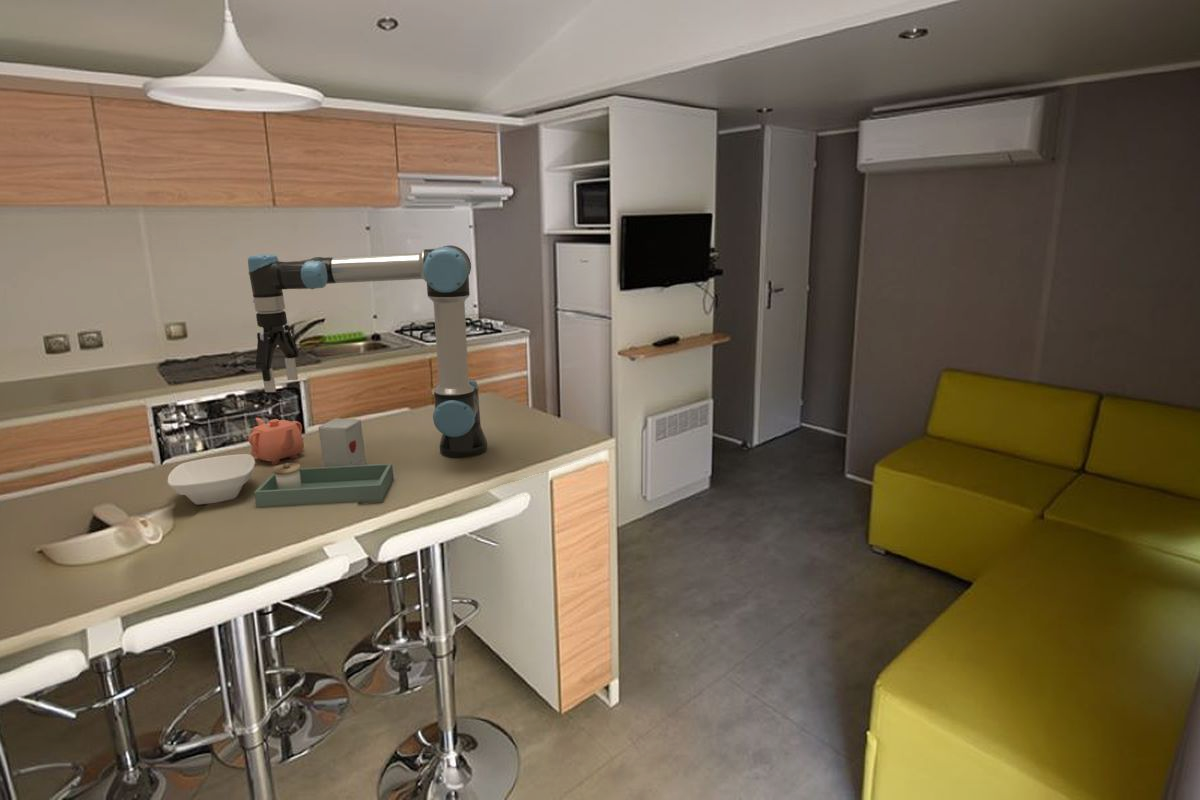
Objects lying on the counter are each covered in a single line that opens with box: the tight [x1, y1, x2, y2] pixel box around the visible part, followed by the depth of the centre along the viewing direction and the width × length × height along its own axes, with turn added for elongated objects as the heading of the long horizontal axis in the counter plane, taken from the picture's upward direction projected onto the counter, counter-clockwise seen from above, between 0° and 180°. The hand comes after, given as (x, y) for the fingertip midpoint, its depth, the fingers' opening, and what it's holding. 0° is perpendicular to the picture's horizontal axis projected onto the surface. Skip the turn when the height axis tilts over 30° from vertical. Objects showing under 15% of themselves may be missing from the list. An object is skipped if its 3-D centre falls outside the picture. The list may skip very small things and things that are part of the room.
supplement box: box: [317, 417, 367, 467], centre depth 200 cm, size 9×9×15 cm
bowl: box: [167, 453, 256, 505], centre depth 183 cm, size 21×21×9 cm
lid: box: [272, 462, 302, 474], centre depth 181 cm, size 7×7×2 cm
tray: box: [253, 462, 395, 508], centre depth 184 cm, size 32×16×5 cm, turn 96°
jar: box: [275, 470, 302, 489], centre depth 183 cm, size 6×6×7 cm
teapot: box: [247, 417, 305, 465], centre depth 211 cm, size 15×17×13 cm
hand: (282, 385), depth 192 cm, fingers open, 13 cm apart
